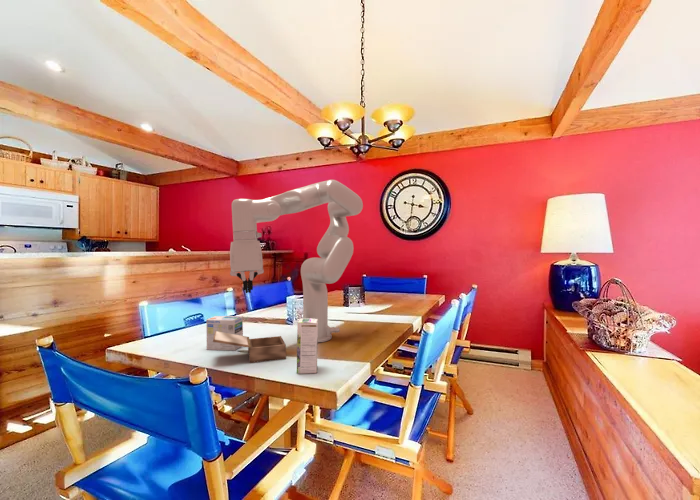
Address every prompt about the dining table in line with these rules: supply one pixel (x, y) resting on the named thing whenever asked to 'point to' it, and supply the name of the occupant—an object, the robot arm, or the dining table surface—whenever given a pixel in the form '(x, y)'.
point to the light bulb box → (223, 330)
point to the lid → (231, 339)
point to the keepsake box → (267, 349)
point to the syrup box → (307, 345)
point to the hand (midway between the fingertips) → (248, 292)
